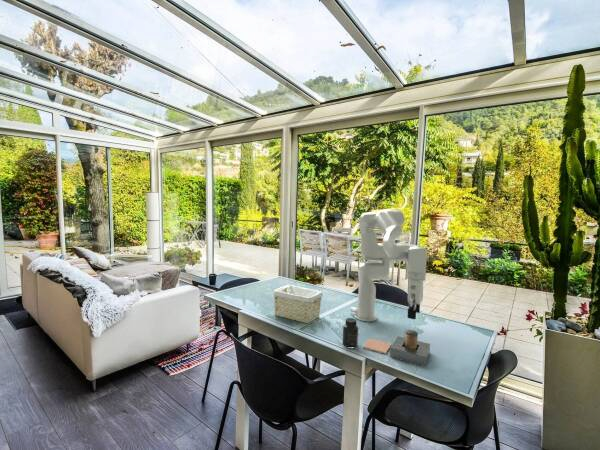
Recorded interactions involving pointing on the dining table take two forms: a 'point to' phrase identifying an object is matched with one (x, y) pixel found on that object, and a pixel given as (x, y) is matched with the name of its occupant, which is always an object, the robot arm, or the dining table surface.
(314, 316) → the storage basket
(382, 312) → the dining table surface
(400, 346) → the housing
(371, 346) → the tile
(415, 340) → the brown cylinder
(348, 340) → the supplement bottle
